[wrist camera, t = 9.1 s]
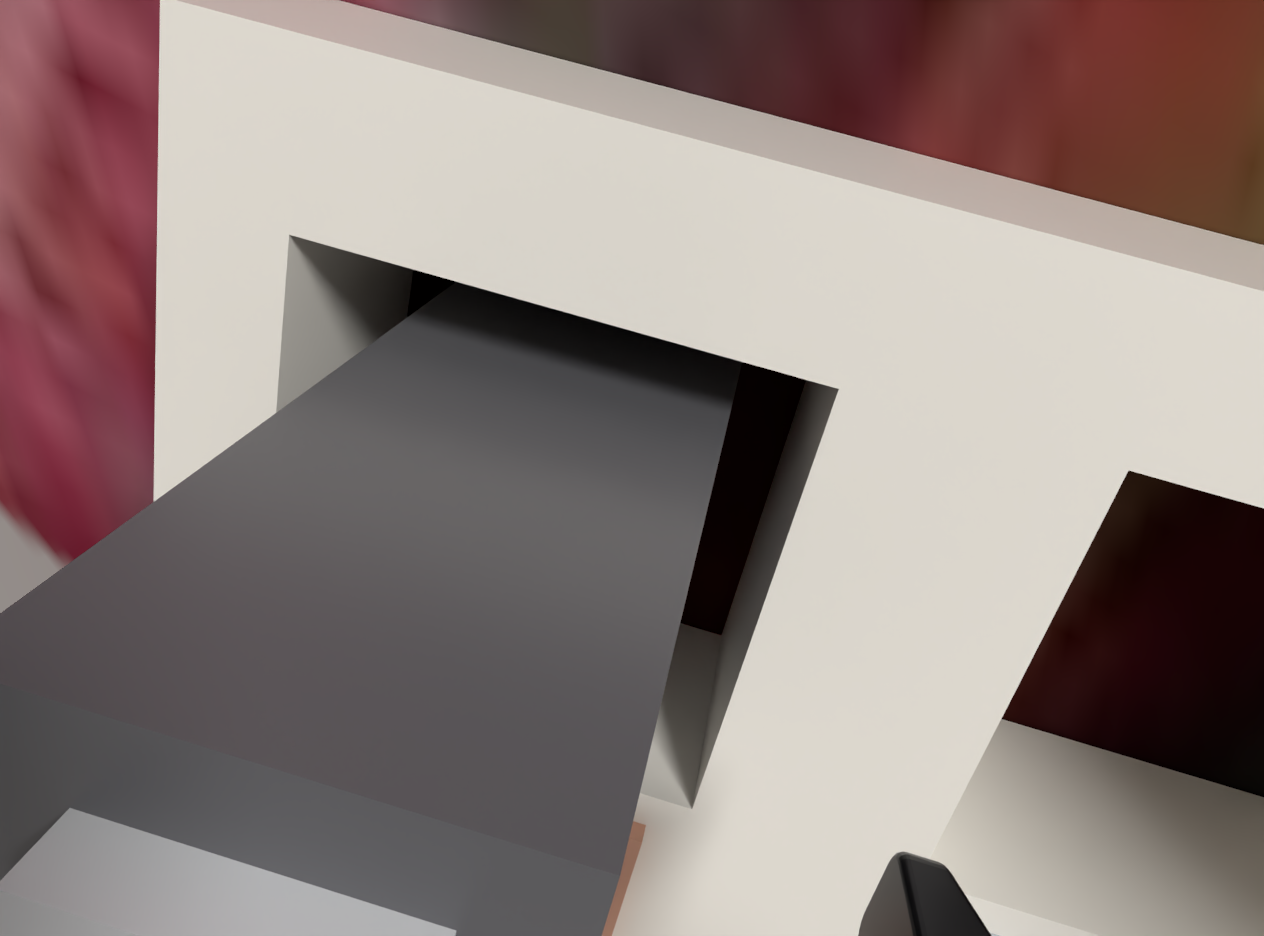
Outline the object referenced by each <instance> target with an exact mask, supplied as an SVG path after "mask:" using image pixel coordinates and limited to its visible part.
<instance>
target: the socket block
mask: <svg viewBox="0 0 1264 936" xmlns="http://www.w3.org/2000/svg"><path fill="white" fill-rule="evenodd" d="M413 270H417V271H420V272H424V273H427V274H431V275H435V276H438V277H442V278H445V279H449V280H452V281H456V282H459V283H463V284H467V285H470V286H474V287H477V288H481V289H484V290H488V291H492V292H495V293H499V294H502V295H506V296H509V297H513V298H516V299H520V300H524V301H527V302H531V303H534V304H538V305H541V306H545V307H548V308H552V309H556V310H559V311H563V312H566V313H570V314H573V315H577V316H581V317H584V318H588V319H591V320H595V321H598V322H602V323H605V324H609V325H613V326H616V327H620V328H623V329H627V330H630V331H634V332H637V333H641V334H645V335H648V336H652V337H655V338H659V339H662V340H666V341H670V342H673V343H677V344H680V345H684V346H687V347H691V348H694V349H698V350H702V351H705V352H709V353H712V354H716V355H719V356H723V357H726V358H730V359H734V360H737V361H741V362H744V363H748V364H751V365H755V366H759V367H762V368H766V369H769V370H773V371H776V372H780V373H783V374H787V375H791V376H794V377H798V378H801V379H805V380H806V382H805V385H804V388H803V391H802V394H801V397H800V400H799V403H798V406H797V409H796V412H795V415H794V418H793V421H792V424H791V427H790V430H789V433H788V436H787V439H786V442H785V445H784V448H783V451H782V454H781V457H780V460H779V463H778V466H777V469H776V472H775V475H774V478H773V481H772V484H771V487H770V490H769V493H768V496H767V499H766V502H765V505H764V508H763V511H762V514H761V517H760V520H759V523H758V526H757V529H756V533H755V536H754V539H753V542H752V545H751V548H750V551H749V554H748V557H747V560H746V563H745V566H744V569H743V572H742V575H741V578H740V581H739V584H738V587H737V590H736V593H735V596H734V599H733V602H732V605H731V608H730V611H729V614H728V617H727V620H726V623H725V626H724V629H723V632H722V635H718V634H715V633H712V632H708V631H705V630H702V629H698V628H695V627H692V626H688V625H685V624H682V623H680V626H679V631H678V635H677V639H676V643H675V647H674V652H673V656H672V660H671V664H670V668H669V673H668V677H667V681H666V685H665V689H664V694H663V698H662V702H661V706H660V710H659V715H658V719H657V723H656V727H655V731H654V736H653V740H652V744H651V748H650V752H649V757H648V761H647V765H646V769H645V773H644V778H643V782H642V786H641V790H640V794H639V799H638V803H637V807H636V811H635V815H634V820H633V824H632V828H631V832H630V836H629V841H628V845H627V849H626V853H625V857H624V862H623V866H622V870H621V874H620V878H619V881H618V884H617V888H616V891H615V894H614V897H613V900H612V904H611V907H610V910H609V913H608V917H607V920H606V923H605V926H604V930H603V933H602V936H858V934H859V929H860V924H861V921H862V918H863V915H864V912H865V910H866V908H867V906H868V904H869V902H870V900H871V898H872V896H873V894H874V892H875V890H876V888H877V885H878V883H879V881H880V879H881V877H882V875H883V873H884V871H885V869H886V867H887V865H888V863H889V861H890V859H891V858H892V857H893V856H894V855H895V854H896V853H898V852H908V853H912V854H915V855H918V856H921V857H925V858H928V859H931V860H934V861H938V862H940V863H942V864H943V865H945V866H946V867H947V868H948V869H949V871H950V872H951V873H952V875H953V876H954V878H955V880H956V881H957V883H958V884H959V886H960V887H961V889H962V890H963V892H964V894H965V895H966V897H967V898H968V900H969V901H970V903H971V904H972V906H973V908H974V909H975V911H976V912H977V914H978V915H979V917H980V918H981V920H982V922H983V923H984V925H985V926H986V928H987V929H988V931H989V933H990V934H991V936H1264V797H1261V796H1258V795H1254V794H1251V793H1248V792H1244V791H1241V790H1238V789H1234V788H1231V787H1228V786H1224V785H1221V784H1218V783H1214V782H1211V781H1208V780H1204V779H1201V778H1198V777H1194V776H1191V775H1187V774H1184V773H1181V772H1177V771H1174V770H1171V769H1167V768H1164V767H1161V766H1157V765H1154V764H1151V763H1147V762H1144V761H1141V760H1137V759H1134V758H1130V757H1127V756H1124V755H1120V754H1117V753H1114V752H1110V751H1107V750H1104V749H1100V748H1097V747H1094V746H1090V745H1087V744H1084V743H1080V742H1077V741H1074V740H1070V739H1067V738H1063V737H1060V736H1057V735H1053V734H1050V733H1047V732H1043V731H1040V730H1037V729H1033V728H1030V727H1027V726H1023V725H1020V724H1017V723H1013V722H1010V721H1007V720H1003V719H1002V717H1003V715H1004V713H1005V711H1006V709H1007V707H1008V705H1009V703H1010V701H1011V699H1012V697H1013V695H1014V693H1015V691H1016V689H1017V687H1018V685H1019V683H1020V681H1021V680H1022V678H1023V676H1024V674H1025V672H1026V670H1027V668H1028V666H1029V664H1030V662H1031V660H1032V658H1033V656H1034V654H1035V652H1036V650H1037V648H1038V646H1039V644H1040V642H1041V641H1042V639H1043V637H1044V635H1045V633H1046V631H1047V629H1048V627H1049V625H1050V623H1051V621H1052V619H1053V617H1054V615H1055V613H1056V611H1057V609H1058V607H1059V605H1060V603H1061V601H1062V600H1063V598H1064V596H1065V594H1066V592H1067V590H1068V588H1069V586H1070V584H1071V582H1072V580H1073V578H1074V576H1075V574H1076V572H1077V570H1078V568H1079V566H1080V564H1081V562H1082V560H1083V559H1084V557H1085V555H1086V553H1087V551H1088V549H1089V547H1090V545H1091V543H1092V541H1093V539H1094V537H1095V535H1096V533H1097V531H1098V529H1099V527H1100V525H1101V523H1102V521H1103V520H1104V518H1105V516H1106V514H1107V512H1108V510H1109V508H1110V506H1111V504H1112V502H1113V500H1114V498H1115V496H1116V494H1117V492H1118V490H1119V488H1120V486H1121V484H1122V482H1123V480H1124V479H1125V477H1126V475H1127V473H1128V471H1132V472H1136V473H1140V474H1143V475H1147V476H1150V477H1154V478H1157V479H1161V480H1164V481H1168V482H1172V483H1175V484H1179V485H1182V486H1186V487H1189V488H1193V489H1196V490H1200V491H1204V492H1207V493H1211V494H1214V495H1218V496H1221V497H1225V498H1229V499H1232V500H1236V501H1239V502H1243V503H1246V504H1250V505H1253V506H1257V507H1261V508H1264V245H1261V244H1257V243H1253V242H1249V241H1246V240H1242V239H1238V238H1234V237H1230V236H1227V235H1223V234H1219V233H1215V232H1212V231H1208V230H1204V229H1200V228H1196V227H1193V226H1189V225H1185V224H1181V223H1178V222H1174V221H1170V220H1166V219H1162V218H1159V217H1155V216H1151V215H1147V214H1144V213H1140V212H1136V211H1132V210H1128V209H1125V208H1121V207H1117V206H1113V205H1110V204H1106V203H1102V202H1098V201H1094V200H1091V199H1087V198H1083V197H1079V196H1076V195H1072V194H1068V193H1064V192H1060V191H1057V190H1053V189H1049V188H1045V187H1042V186H1038V185H1034V184H1030V183H1027V182H1023V181H1019V180H1015V179H1011V178H1008V177H1004V176H1000V175H996V174H993V173H989V172H985V171H981V170H977V169H974V168H970V167H966V166H962V165H959V164H955V163H951V162H947V161H943V160H940V159H936V158H932V157H928V156H925V155H921V154H917V153H913V152H909V151H906V150H902V149H898V148H894V147H891V146H887V145H883V144H879V143H875V142H872V141H868V140H864V139H860V138H857V137H853V136H849V135H845V134H842V133H838V132H834V131H830V130H826V129H823V128H819V127H815V126H811V125H808V124H804V123H800V122H796V121H792V120H789V119H785V118H781V117H777V116H774V115H770V114H766V113H762V112H758V111H755V110H751V109H747V108H743V107H740V106H736V105H732V104H728V103H724V102H721V101H717V100H713V99H709V98H706V97H702V96H698V95H694V94H690V93H687V92H683V91H679V90H675V89H672V88H668V87H664V86H660V85H657V84H653V83H649V82H645V81H641V80H638V79H634V78H630V77H626V76H623V75H619V74H615V73H611V72H607V71H604V70H600V69H596V68H592V67H589V66H585V65H581V64H577V63H573V62H570V61H566V60H562V59H558V58H555V57H551V56H547V55H543V54H539V53H536V52H532V51H528V50H524V49H521V48H517V47H513V46H509V45H505V44H502V43H498V42H494V41H490V40H487V39H483V38H479V37H475V36H471V35H468V34H464V33H460V32H456V31H453V30H449V29H445V28H441V27H438V26H434V25H430V24H426V23H422V22H419V21H415V20H411V19H407V18H404V17H400V16H396V15H392V14H388V13H385V12H381V11H377V10H373V9H370V8H366V7H362V6H358V5H354V4H351V3H347V2H343V1H339V0H160V48H159V125H158V202H157V280H156V357H155V435H154V501H156V500H157V499H158V498H160V497H161V496H163V495H164V494H165V493H167V492H168V491H169V490H171V489H172V488H174V487H175V486H176V485H178V484H179V483H180V482H182V481H183V480H185V479H186V478H187V477H189V476H190V475H191V474H193V473H194V472H196V471H197V470H198V469H200V468H201V467H202V466H204V465H205V464H207V463H208V462H209V461H211V460H212V459H213V458H215V457H216V456H218V455H219V454H220V453H222V452H223V451H224V450H226V449H227V448H229V447H230V446H231V445H233V444H234V443H235V442H237V441H238V440H240V439H241V438H242V437H244V436H245V435H246V434H248V433H249V432H251V431H252V430H253V429H255V428H256V427H257V426H259V425H260V424H262V423H263V422H264V421H266V420H267V419H268V418H270V417H271V416H273V415H274V414H275V413H277V412H278V411H279V410H281V409H282V408H284V407H285V406H286V405H288V404H289V403H290V402H292V401H293V400H295V399H296V398H297V397H299V396H300V395H301V394H303V393H304V392H306V391H307V390H308V389H310V388H311V387H312V386H314V385H315V384H316V383H318V382H319V381H321V380H322V379H323V378H325V377H326V376H327V375H329V374H330V373H332V372H333V371H334V370H336V369H337V368H338V367H340V366H341V365H343V364H344V363H345V362H347V361H348V360H349V359H351V358H352V357H354V356H355V355H356V354H358V353H359V352H360V351H362V350H363V349H365V348H366V347H367V346H369V345H370V344H371V343H373V342H374V341H376V340H377V339H378V338H380V337H381V336H382V335H384V334H385V333H387V332H388V331H389V330H391V329H392V328H393V327H395V326H396V325H398V324H399V323H400V322H402V321H403V320H404V319H406V318H407V314H408V306H409V299H410V291H411V284H412V276H413Z"/></svg>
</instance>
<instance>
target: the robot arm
mask: <svg viewBox="0 0 1264 936" xmlns="http://www.w3.org/2000/svg"><path fill="white" fill-rule="evenodd" d="M858 936H991V934H990V933H989V931H988V929H987V928H986V926H985V925H984V923H983V922H982V920H981V918H980V917H979V915H978V914H977V912H976V911H975V909H974V908H973V906H972V904H971V903H970V901H969V900H968V898H967V897H966V895H965V894H964V892H963V890H962V889H961V887H960V886H959V884H958V883H957V881H956V880H955V878H954V876H953V875H952V873H951V872H950V871H949V869H948V868H947V867H946V866H945V865H943V864H942V863H940V862H938V861H934V860H931V859H928V858H925V857H921V856H918V855H915V854H912V853H908V852H898V853H896V854H895V855H894V856H893V857H892V858H891V859H890V861H889V863H888V865H887V867H886V869H885V871H884V873H883V875H882V877H881V879H880V881H879V883H878V885H877V888H876V890H875V892H874V894H873V896H872V898H871V900H870V902H869V904H868V906H867V908H866V910H865V912H864V915H863V918H862V921H861V924H860V929H859V934H858Z"/></svg>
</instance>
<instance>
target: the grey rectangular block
mask: <svg viewBox="0 0 1264 936" xmlns="http://www.w3.org/2000/svg"><path fill="white" fill-rule="evenodd" d="M741 366H742V362H741V361H737V360H734V359H730V358H726V357H723V356H719V355H716V354H712V353H709V352H705V351H702V350H698V349H694V348H691V347H687V346H684V345H680V344H677V343H673V342H670V341H666V340H662V339H659V338H655V337H652V336H648V335H645V334H641V333H637V332H634V331H630V330H627V329H623V328H620V327H616V326H613V325H609V324H605V323H602V322H598V321H595V320H591V319H588V318H584V317H581V316H577V315H573V314H570V313H566V312H563V311H559V310H556V309H552V308H548V307H545V306H541V305H538V304H534V303H531V302H527V301H524V300H520V299H516V298H513V297H509V296H506V295H502V294H499V293H495V292H492V291H488V290H484V289H481V288H477V287H474V286H470V285H467V284H463V283H459V282H455V283H454V284H453V285H451V286H450V287H448V288H447V289H446V290H444V291H443V292H442V293H440V294H439V295H437V296H436V297H435V298H433V299H432V300H431V301H429V302H428V303H426V304H425V305H424V306H422V307H421V308H420V309H418V310H417V311H415V312H414V313H413V314H411V315H410V316H409V317H407V318H406V319H404V320H403V321H402V322H400V323H399V324H398V325H396V326H395V327H393V328H392V329H391V330H389V331H388V332H387V333H385V334H384V335H382V336H381V337H380V338H378V339H377V340H376V341H374V342H373V343H371V344H370V345H369V346H367V347H366V348H365V349H363V350H362V351H360V352H359V353H358V354H356V355H355V356H354V357H352V358H351V359H349V360H348V361H347V362H345V363H344V364H343V365H341V366H340V367H338V368H337V369H336V370H334V371H333V372H332V373H330V374H329V375H327V376H326V377H325V378H323V379H322V380H321V381H319V382H318V383H316V384H315V385H314V386H312V387H311V388H310V389H308V390H307V391H306V392H304V393H303V394H301V395H300V396H299V397H297V398H296V399H295V400H293V401H292V402H290V403H289V404H288V405H286V406H285V407H284V408H282V409H281V410H279V411H278V412H277V413H275V414H274V415H273V416H271V417H270V418H268V419H267V420H266V421H264V422H263V423H262V424H260V425H259V426H257V427H256V428H255V429H253V430H252V431H251V432H249V433H248V434H246V435H245V436H244V437H242V438H241V439H240V440H238V441H237V442H235V443H234V444H233V445H231V446H230V447H229V448H227V449H226V450H224V451H223V452H222V453H220V454H219V455H218V456H216V457H215V458H213V459H212V460H211V461H209V462H208V463H207V464H205V465H204V466H202V467H201V468H200V469H198V470H197V471H196V472H194V473H193V474H191V475H190V476H189V477H187V478H186V479H185V480H183V481H182V482H180V483H179V484H178V485H176V486H175V487H174V488H172V489H171V490H169V491H168V492H167V493H165V494H164V495H163V496H161V497H160V498H158V499H157V500H156V501H154V502H153V503H152V504H150V505H149V506H147V507H146V508H145V509H143V510H142V511H141V512H139V513H138V514H136V515H135V516H134V517H132V518H131V519H130V520H128V521H127V522H125V523H124V524H123V525H121V526H120V527H119V528H117V529H116V530H114V531H113V532H112V533H110V534H109V535H108V536H106V537H105V538H103V539H102V540H101V541H99V542H98V543H97V544H95V545H94V546H92V547H91V548H90V549H88V550H87V551H86V552H84V553H83V554H81V555H80V556H79V557H77V558H76V559H75V560H73V561H72V562H70V563H69V564H68V565H66V566H65V567H64V568H62V569H61V570H59V571H58V572H57V573H55V574H54V575H53V576H51V577H50V578H49V579H47V580H46V581H44V582H43V583H42V584H40V585H39V586H37V587H36V588H35V589H33V590H32V591H31V592H29V593H28V594H26V595H25V596H24V597H22V598H21V599H20V600H18V601H17V602H15V603H14V604H13V605H11V606H10V607H9V608H7V609H6V610H5V611H3V612H2V613H0V936H602V933H603V930H604V926H605V923H606V920H607V917H608V913H609V910H610V907H611V904H612V900H613V897H614V894H615V891H616V888H617V884H618V881H619V878H620V874H621V870H622V866H623V862H624V857H625V853H626V849H627V845H628V841H629V836H630V832H631V828H632V824H633V820H634V815H635V811H636V807H637V803H638V799H639V794H640V790H641V786H642V782H643V778H644V773H645V769H646V765H647V761H648V757H649V752H650V748H651V744H652V740H653V736H654V731H655V727H656V723H657V719H658V715H659V710H660V706H661V702H662V698H663V694H664V689H665V685H666V681H667V677H668V673H669V668H670V664H671V660H672V656H673V652H674V647H675V643H676V639H677V635H678V631H679V626H680V622H681V618H682V614H683V610H684V605H685V601H686V597H687V593H688V589H689V584H690V580H691V576H692V572H693V568H694V563H695V559H696V555H697V551H698V547H699V542H700V538H701V534H702V530H703V526H704V521H705V517H706V513H707V509H708V505H709V500H710V496H711V492H712V488H713V484H714V479H715V475H716V471H717V467H718V463H719V458H720V454H721V450H722V446H723V442H724V437H725V433H726V429H727V425H728V421H729V416H730V412H731V408H732V404H733V399H734V395H735V391H736V387H737V383H738V378H739V374H740V370H741Z"/></svg>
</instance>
